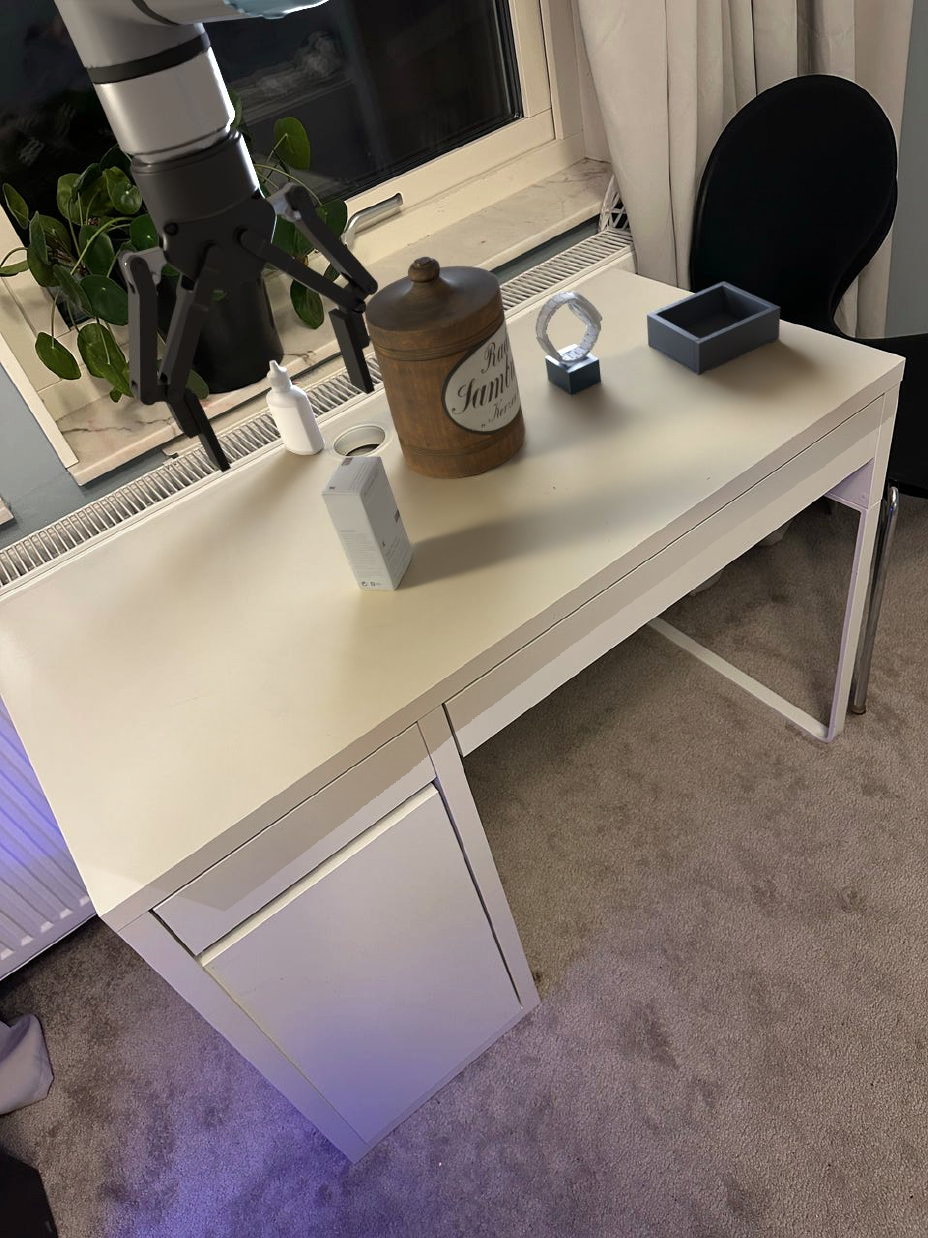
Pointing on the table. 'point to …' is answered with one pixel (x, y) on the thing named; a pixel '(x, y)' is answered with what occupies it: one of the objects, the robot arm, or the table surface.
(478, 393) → the wooden container
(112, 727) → the table surface
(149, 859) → the table surface
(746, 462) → the table surface
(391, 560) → the cosmetic box
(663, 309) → the holder
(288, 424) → the eye dropper bottle
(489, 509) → the table surface
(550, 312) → the watch
